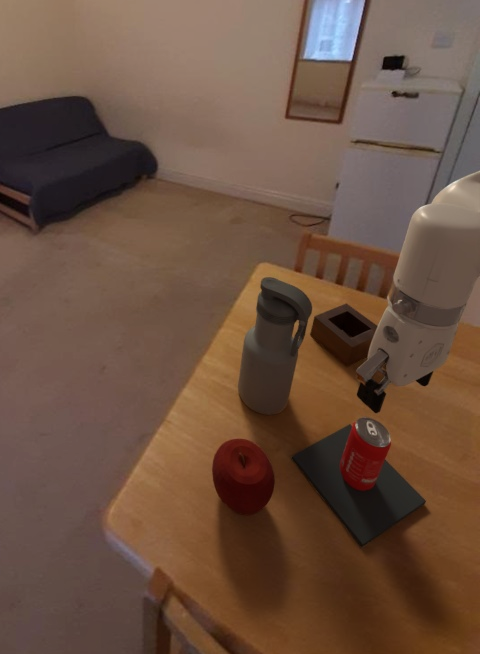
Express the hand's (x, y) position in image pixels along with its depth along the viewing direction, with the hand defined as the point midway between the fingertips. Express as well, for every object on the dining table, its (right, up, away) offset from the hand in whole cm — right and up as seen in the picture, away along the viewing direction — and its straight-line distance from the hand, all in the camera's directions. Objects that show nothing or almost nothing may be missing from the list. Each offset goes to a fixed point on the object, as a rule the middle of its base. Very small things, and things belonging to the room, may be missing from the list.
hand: (392, 390), depth 58 cm
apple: (-20, -22, +9) cm, 30 cm away
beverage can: (0, -19, +9) cm, 21 cm away
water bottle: (-10, -13, +25) cm, 30 cm away
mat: (0, -20, +10) cm, 22 cm away
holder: (+13, -6, +36) cm, 39 cm away
